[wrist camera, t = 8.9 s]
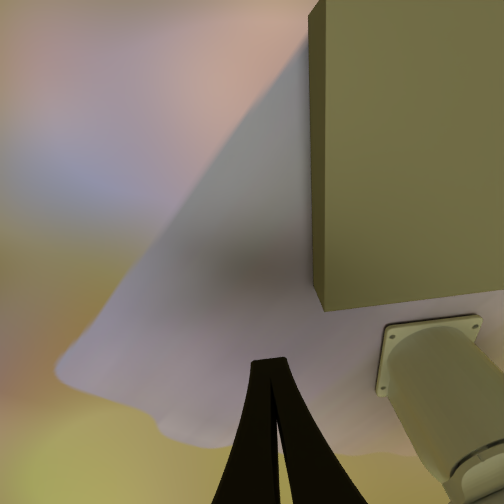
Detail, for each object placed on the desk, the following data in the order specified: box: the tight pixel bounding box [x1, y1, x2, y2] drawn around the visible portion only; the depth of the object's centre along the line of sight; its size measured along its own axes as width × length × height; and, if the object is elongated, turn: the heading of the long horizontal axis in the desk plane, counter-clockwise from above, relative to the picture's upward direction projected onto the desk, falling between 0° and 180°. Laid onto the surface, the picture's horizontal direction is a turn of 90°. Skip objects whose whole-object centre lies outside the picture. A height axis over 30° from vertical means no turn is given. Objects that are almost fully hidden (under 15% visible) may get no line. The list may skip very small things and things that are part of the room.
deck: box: [308, 0, 504, 312], centre depth 15 cm, size 16×14×3 cm
